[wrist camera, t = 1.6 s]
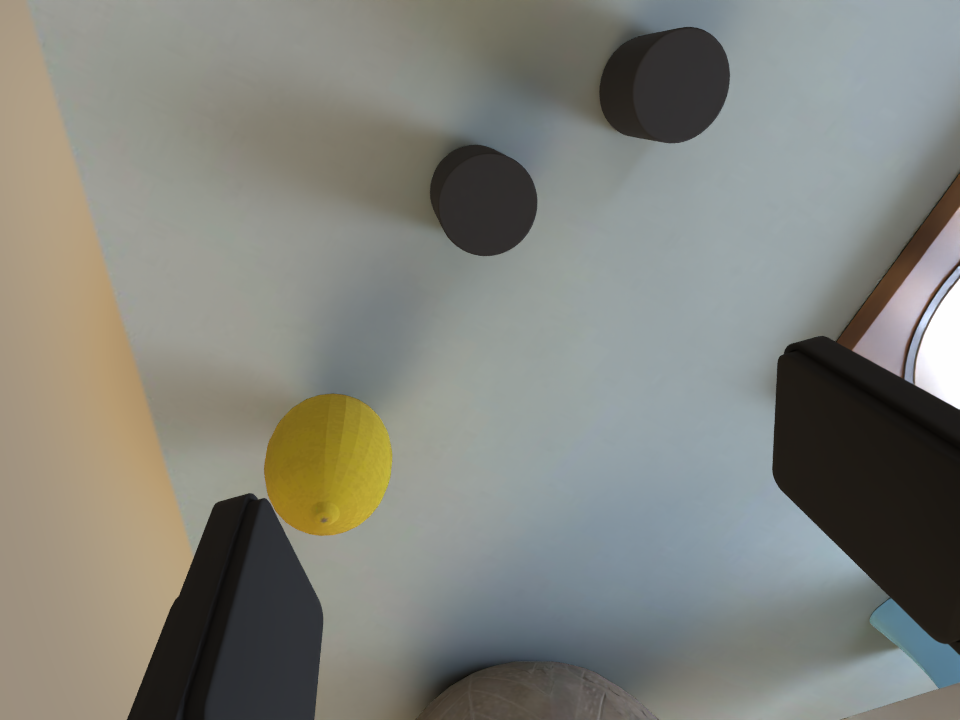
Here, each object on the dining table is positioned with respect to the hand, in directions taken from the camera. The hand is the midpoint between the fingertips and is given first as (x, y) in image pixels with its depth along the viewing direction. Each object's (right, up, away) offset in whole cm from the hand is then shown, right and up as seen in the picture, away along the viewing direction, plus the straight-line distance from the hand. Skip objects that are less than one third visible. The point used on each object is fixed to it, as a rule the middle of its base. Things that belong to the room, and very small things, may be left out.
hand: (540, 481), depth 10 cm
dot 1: (-1, +10, +15) cm, 18 cm away
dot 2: (+6, +14, +14) cm, 21 cm away
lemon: (-9, -1, +19) cm, 21 cm away
